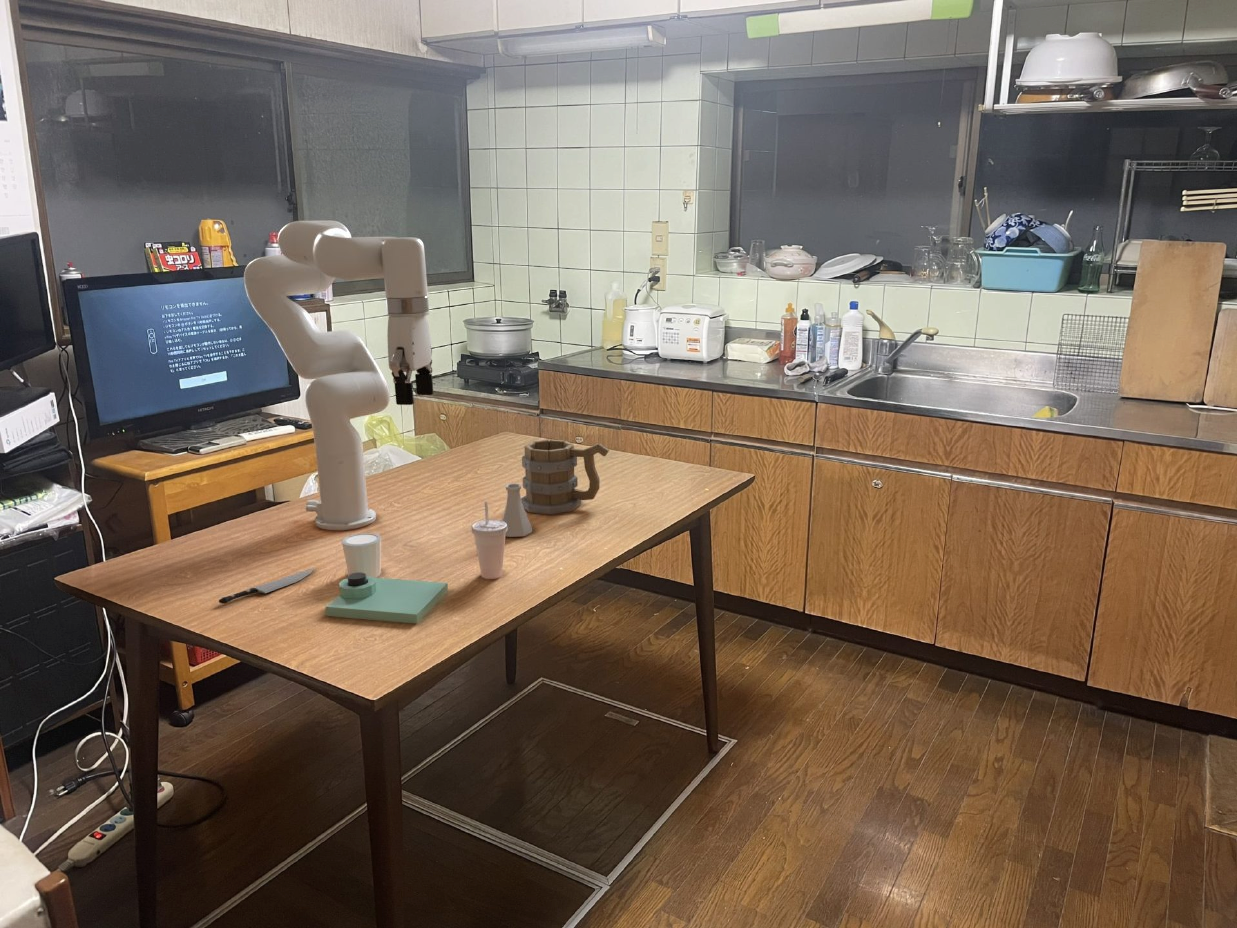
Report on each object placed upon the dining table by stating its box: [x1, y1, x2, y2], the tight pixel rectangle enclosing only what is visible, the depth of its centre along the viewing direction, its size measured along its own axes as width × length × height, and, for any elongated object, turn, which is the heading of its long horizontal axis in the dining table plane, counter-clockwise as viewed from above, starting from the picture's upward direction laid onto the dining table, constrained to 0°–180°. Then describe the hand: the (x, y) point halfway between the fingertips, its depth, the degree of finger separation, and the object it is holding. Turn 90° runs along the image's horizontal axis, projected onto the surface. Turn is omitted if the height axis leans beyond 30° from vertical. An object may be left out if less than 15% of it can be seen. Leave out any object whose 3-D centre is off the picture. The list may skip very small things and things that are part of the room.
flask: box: [500, 483, 533, 538], centre depth 187 cm, size 7×7×10 cm
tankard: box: [521, 439, 610, 516], centre depth 202 cm, size 20×13×15 cm, turn 71°
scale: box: [325, 576, 449, 625], centre depth 154 cm, size 16×13×4 cm
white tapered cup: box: [341, 532, 382, 578], centre depth 166 cm, size 7×7×7 cm
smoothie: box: [471, 500, 508, 580], centre depth 164 cm, size 6×6×14 cm
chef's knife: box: [218, 568, 314, 604], centre depth 161 cm, size 19×1×3 cm
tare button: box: [347, 573, 367, 587], centre depth 154 cm, size 3×3×2 cm
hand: (415, 399), depth 171 cm, fingers open, 9 cm apart
